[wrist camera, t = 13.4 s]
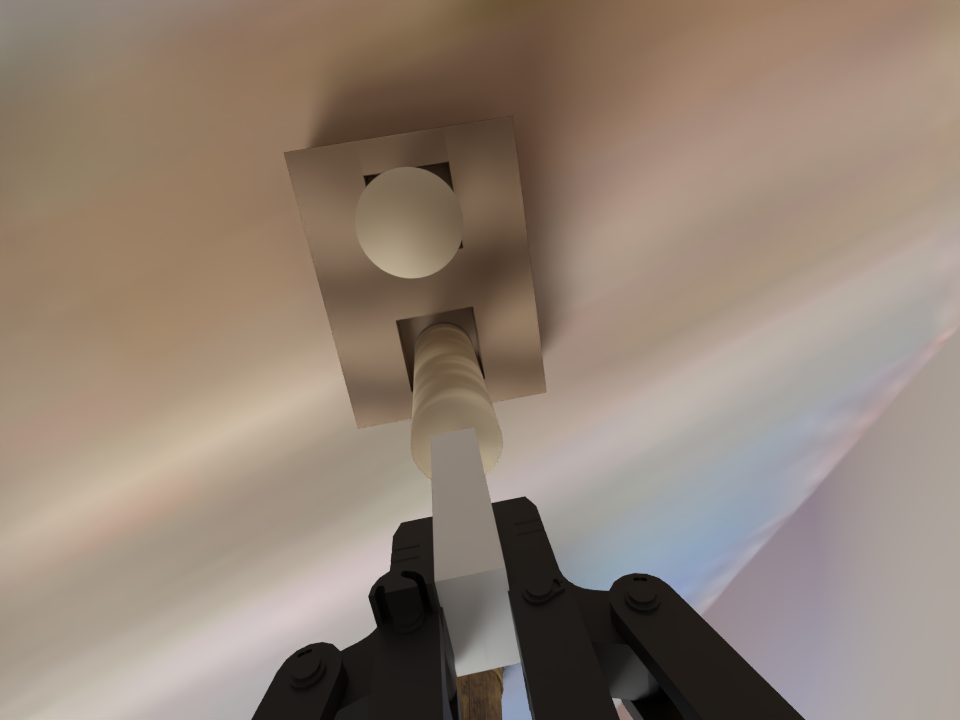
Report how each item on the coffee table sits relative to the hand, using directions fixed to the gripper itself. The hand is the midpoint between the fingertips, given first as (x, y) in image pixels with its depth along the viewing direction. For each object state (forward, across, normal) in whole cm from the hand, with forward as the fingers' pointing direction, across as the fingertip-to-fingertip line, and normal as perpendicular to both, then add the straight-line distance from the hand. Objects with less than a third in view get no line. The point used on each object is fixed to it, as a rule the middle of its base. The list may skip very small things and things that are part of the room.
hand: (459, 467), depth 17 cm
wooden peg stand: (+18, 0, -4) cm, 19 cm away
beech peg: (+16, 0, 0) cm, 16 cm away
